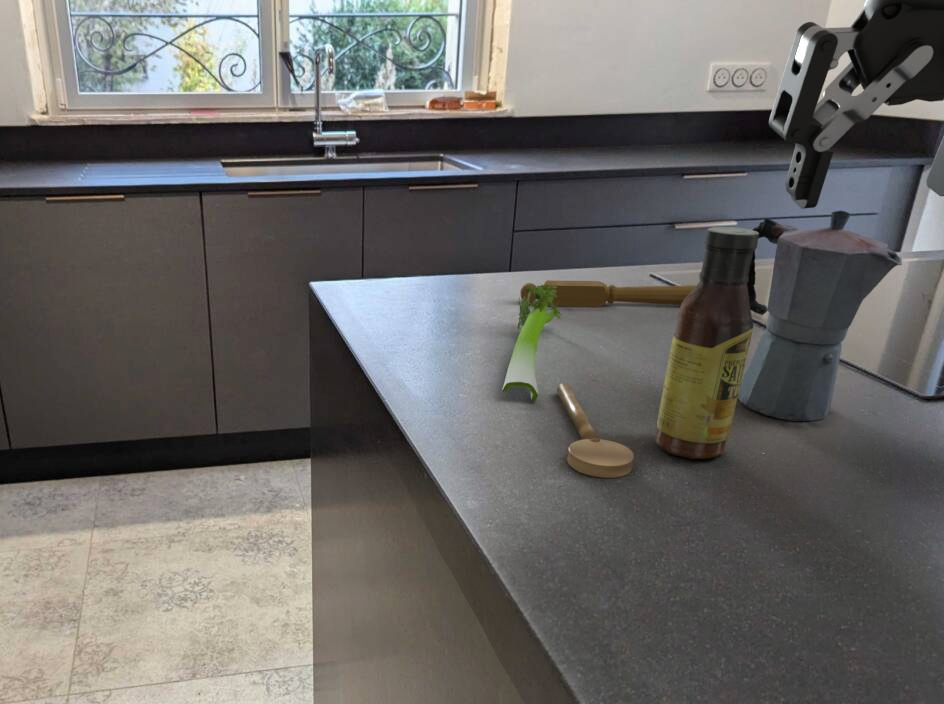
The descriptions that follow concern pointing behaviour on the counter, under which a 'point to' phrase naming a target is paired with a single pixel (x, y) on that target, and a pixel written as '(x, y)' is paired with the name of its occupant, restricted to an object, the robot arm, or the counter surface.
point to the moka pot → (809, 314)
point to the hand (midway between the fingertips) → (870, 197)
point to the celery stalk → (530, 339)
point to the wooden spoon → (593, 444)
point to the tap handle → (608, 293)
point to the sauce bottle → (709, 350)
